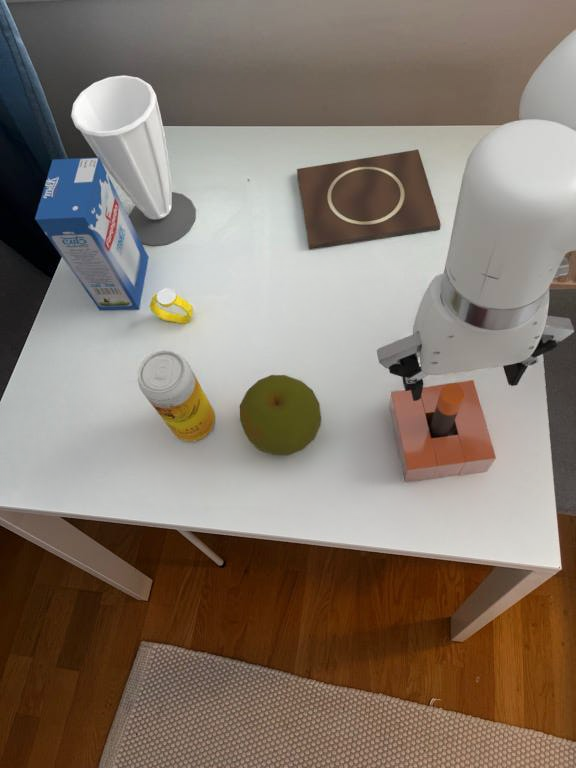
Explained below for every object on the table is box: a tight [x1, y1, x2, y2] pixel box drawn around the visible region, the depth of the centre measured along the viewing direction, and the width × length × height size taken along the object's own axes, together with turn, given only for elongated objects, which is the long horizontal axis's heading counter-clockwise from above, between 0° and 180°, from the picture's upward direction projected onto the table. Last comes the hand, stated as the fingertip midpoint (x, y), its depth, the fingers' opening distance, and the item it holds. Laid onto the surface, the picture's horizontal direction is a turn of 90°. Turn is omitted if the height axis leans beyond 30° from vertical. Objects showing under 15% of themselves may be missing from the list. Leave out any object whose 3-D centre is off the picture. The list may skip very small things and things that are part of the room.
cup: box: [70, 75, 197, 247], centre depth 85 cm, size 12×12×22 cm
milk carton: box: [34, 156, 149, 311], centre depth 81 cm, size 10×6×20 cm, turn 178°
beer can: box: [137, 350, 216, 443], centre depth 71 cm, size 6×6×15 cm
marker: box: [429, 382, 465, 439], centre depth 67 cm, size 2×2×14 cm
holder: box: [388, 379, 497, 484], centre depth 71 cm, size 10×10×5 cm
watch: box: [149, 287, 194, 325], centre depth 83 cm, size 6×3×6 cm, turn 78°
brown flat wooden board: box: [296, 149, 442, 250], centre depth 91 cm, size 20×16×1 cm
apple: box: [238, 374, 322, 456], centre depth 71 cm, size 10×10×11 cm
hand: (460, 380), depth 59 cm, fingers open, 9 cm apart
